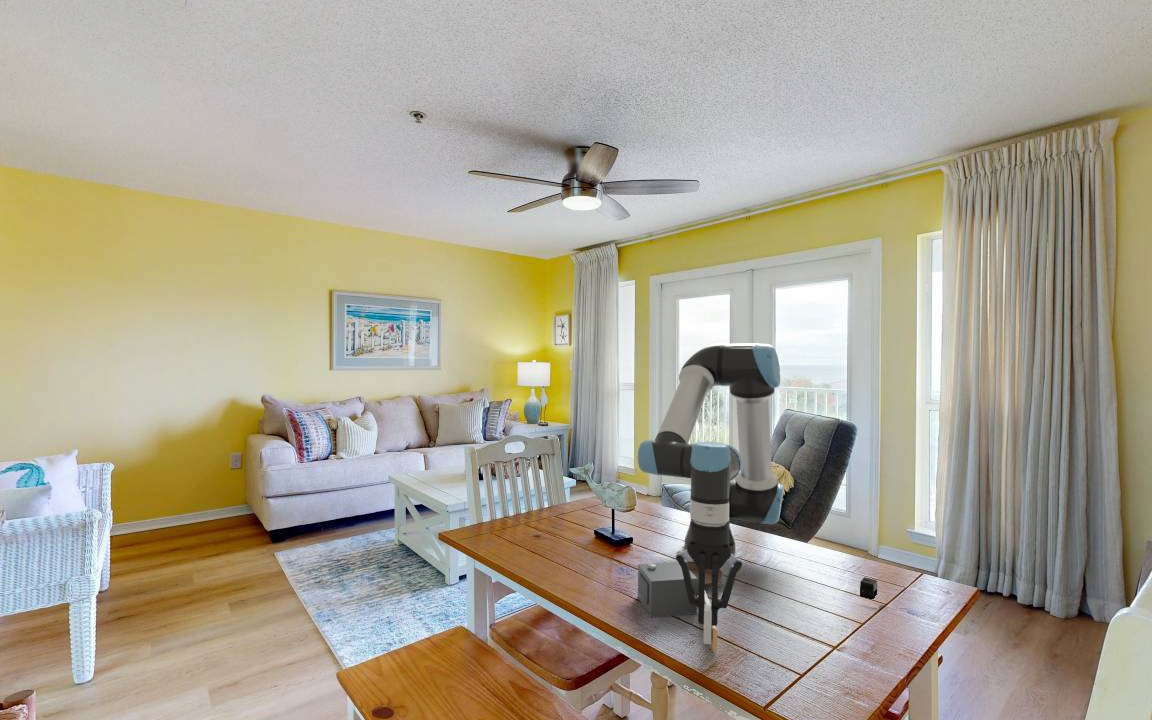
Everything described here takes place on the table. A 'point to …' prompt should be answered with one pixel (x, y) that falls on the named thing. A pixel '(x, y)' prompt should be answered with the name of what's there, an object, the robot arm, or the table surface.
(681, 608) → the grey box with knob
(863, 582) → the black block
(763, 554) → the table surface
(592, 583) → the table surface
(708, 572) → the saucer
